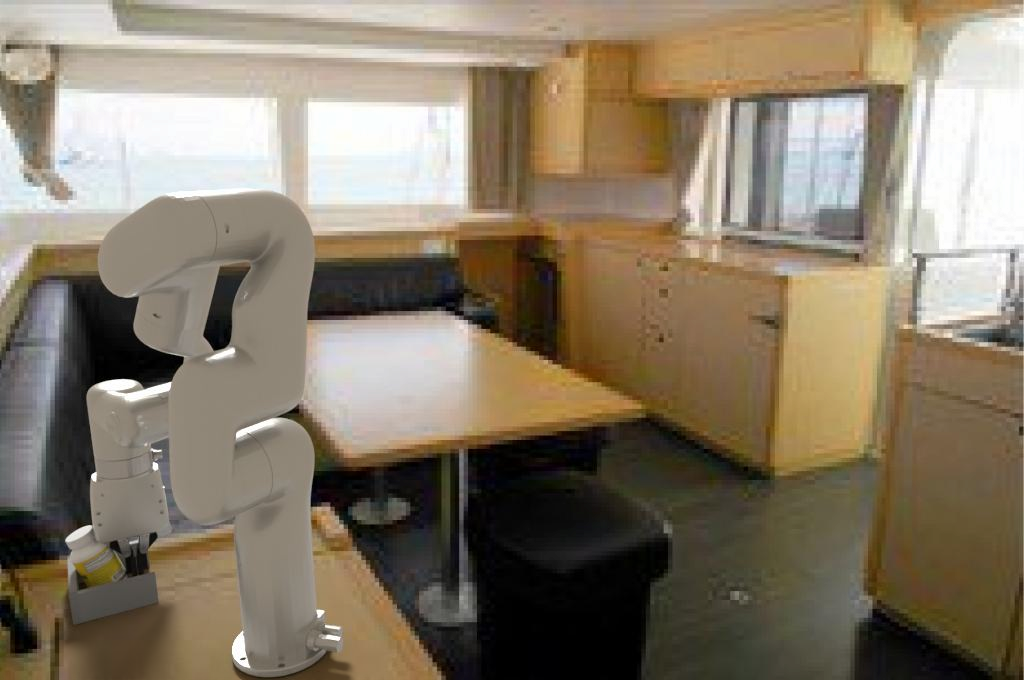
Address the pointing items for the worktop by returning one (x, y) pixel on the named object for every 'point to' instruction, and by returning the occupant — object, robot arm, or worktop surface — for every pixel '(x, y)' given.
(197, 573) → the worktop surface
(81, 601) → the box
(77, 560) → the supplement bottle
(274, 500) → the robot arm
